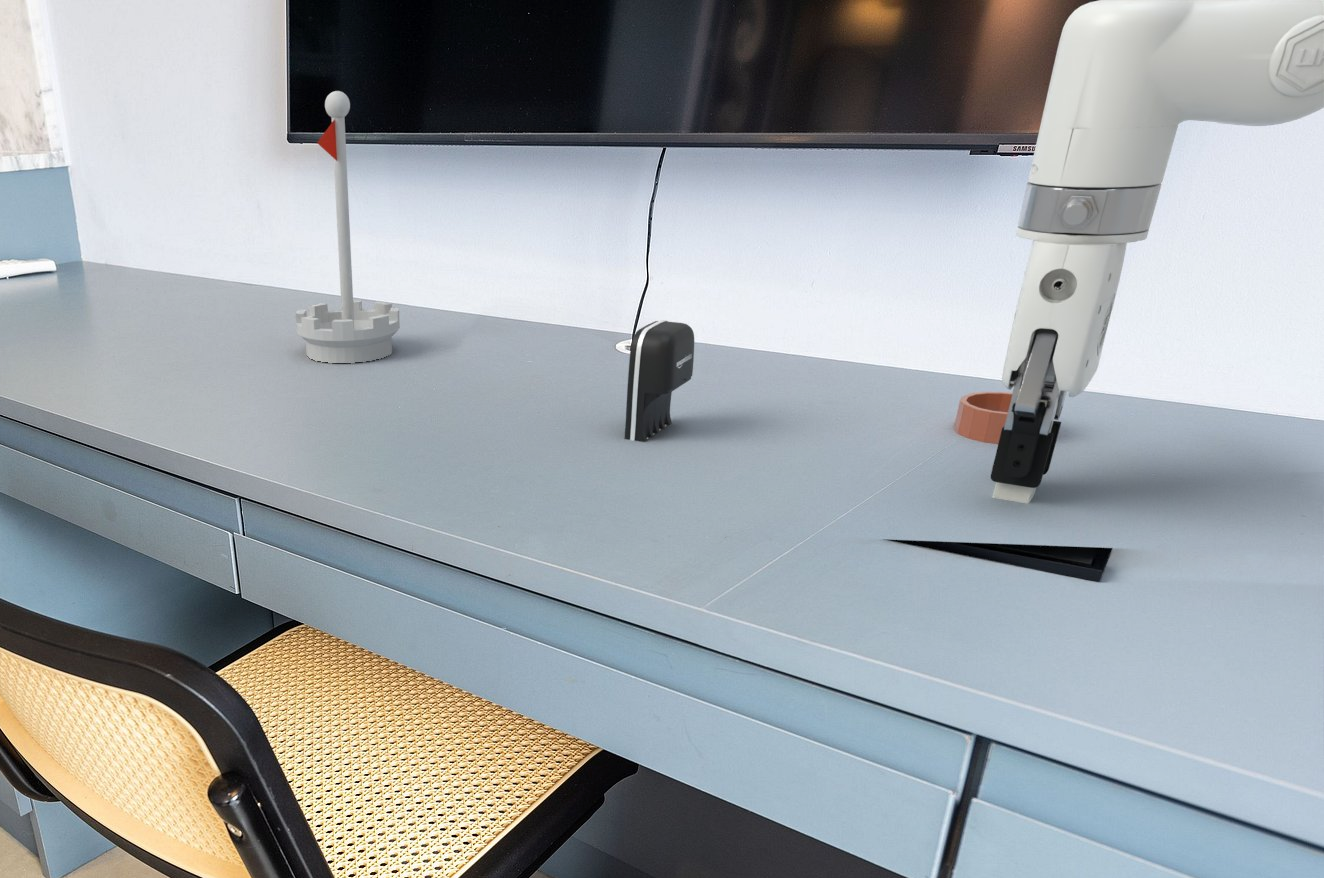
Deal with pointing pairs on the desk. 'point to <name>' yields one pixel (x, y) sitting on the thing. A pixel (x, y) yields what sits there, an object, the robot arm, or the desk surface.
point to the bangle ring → (982, 415)
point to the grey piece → (1016, 491)
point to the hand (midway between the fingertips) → (1019, 475)
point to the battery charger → (656, 375)
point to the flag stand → (345, 276)
